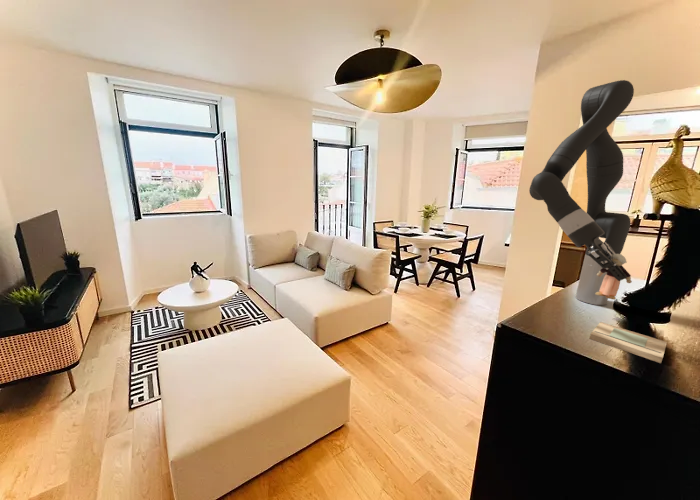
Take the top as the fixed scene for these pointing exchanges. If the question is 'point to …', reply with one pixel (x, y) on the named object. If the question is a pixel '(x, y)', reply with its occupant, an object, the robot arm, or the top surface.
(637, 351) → the oak board
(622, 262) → the grandmother figurine
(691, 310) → the top surface
